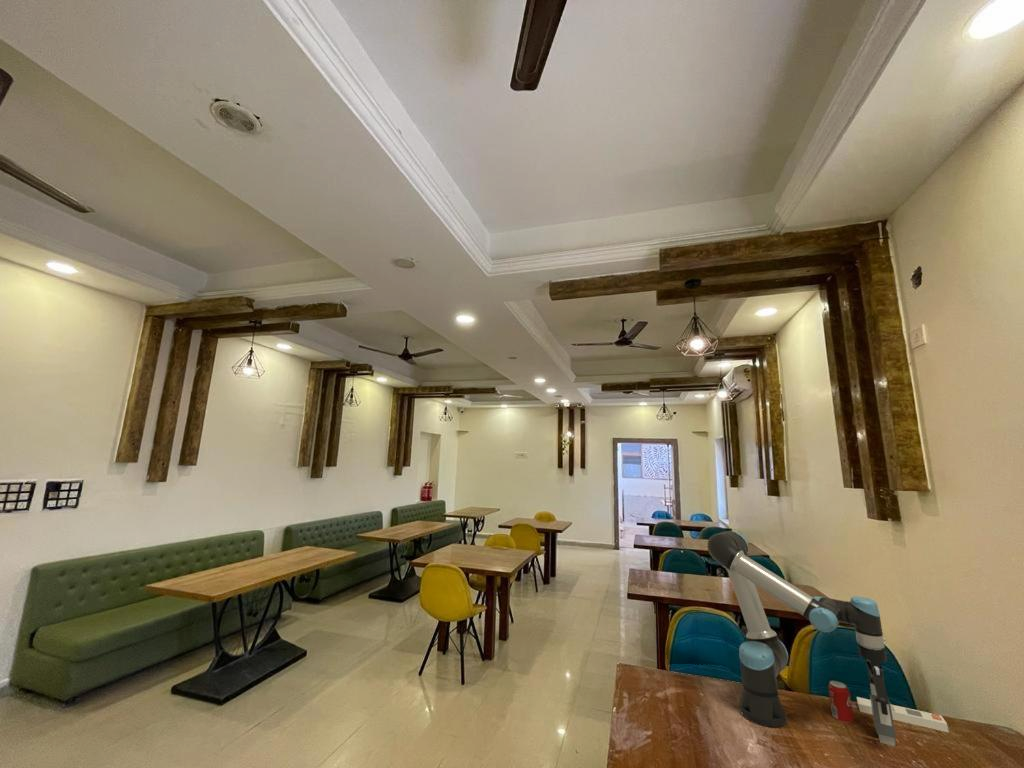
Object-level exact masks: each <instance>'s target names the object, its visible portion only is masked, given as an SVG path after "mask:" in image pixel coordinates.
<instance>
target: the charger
mask: <svg viewBox="0 0 1024 768" xmlns="http://www.w3.org/2000/svg"><path fill="white" fill-rule="evenodd" d="M869 698H870V699H869V700H871V706H872V713H873V715H872V717H873V718H872V719H873V724H874V728H875V732H876V734H877V735H878V740H879V743H881V744H886V745H889V746H893V747H896V741H895V739H897V736H896V730H895V729H896V728H895V725H894V719H893V717H892V711H891V705H892V704H891V702H890V701H889V699H888V701H889V704H888V705H889V712H890V718H891V724H892V726H889V725H885V724H881V721H880V715H879V709H878V703H877V702H876V701H875V699H878V698H877V696H876V695H872V693H869ZM881 699H884V698H881ZM890 704H891V705H890Z"/></svg>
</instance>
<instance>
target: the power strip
mask: <svg viewBox="0 0 1024 768" xmlns="http://www.w3.org/2000/svg"><path fill="white" fill-rule="evenodd" d="M856 702H857V705H854V704H851V706H852V708H854V709H855V708H856V709H859V712H861V713H864V714H869V715H872V716H873V713H872V706H871V700H870V699H867V698H864V697H860V696H856ZM890 705H891V711H892V717H893V721H894V720H895V721H898V722H902V723H907V724H911V725H916V726H919V727H924V728H929V729H932V730H937V731H940V732H941V731H942V732H945V733H949V732H950V731H949V727H948V723H947V721H946V720H945V719H944V717H943V715H940V714H936V713H930V712H927V711H922V710H918V709H912V708H909V707H905V706H900V705H894V704H892V703H890Z"/></svg>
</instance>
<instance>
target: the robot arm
mask: <svg viewBox="0 0 1024 768" xmlns="http://www.w3.org/2000/svg"><path fill="white" fill-rule="evenodd" d="M706 545H707V550H708V553H709V555H710V557H711V558H712V559H713V560H715V562H717V563H718V564H720V565H721V567H723V568H724V569H726V570H727V573H728V576H729V578H730V582H731V585H732V587H733V591H734V594H735V597H736V599H737V602H738V605H739V608H740V611H741V614H742V617H743V620H744V623H745V626H746V628H747V633H746V634H745V637H746V638H745V639H746V641H744V642H742V643H741V644H740V645H739V646H738V647H739V649H738V651H739V652H738V658H739V662H740V663H739V664H740V672H741V682H742V691H741V696H740V699H739V711H740V710H741V712H742V713H743V715H744V716H746V717H747V718H748V719H749V721H750V720H751V721H750V722H752V721H753V722H752V723H754V722H755V724H757V723H758V724H757V725H760V726H763V725H765V726H764V727H768V726H772V727H771V728H780V727H784V726H786V724H787V721H788V720H787V713H786V711H785V709H784V706H783V704H782V702H781V699H780V697H779V690H778V681H777V677H778V676H779V675H780V673H781V672H783V671H784V669H785V668H786V667H787V664H788V662H789V653H788V651H787V650H788V649H787V648H786V646H785V644H784V643H783V642H782V641H781V640H780V638H779V636H778V634H777V632H776V631H775V630H773V629H772V628H771V626H770V623H769V620H768V617H767V615H766V612H765V609H764V607H763V604H762V601H761V598H760V594H759V592H758V589H757V587H759V588H761V590H763V591H765V592H766V593H768V594H769V595H771V596H772V597H774V598H775V599H777V600H779V601H780V602H782V603H783V604H785V605H786V606H787V607H789V608H791V609H792V610H794V611H795V612H797V613H798V614H800V615H802V616H803V617H804V618H806V619H807V620H809V622H810V624H811V625H812V626H813V628H814V629H816V630H817V631H819V632H821V633H831V632H833V631H835V629H837V627H838V626H839V624H840V623H842V624H848V625H851V626H852V625H853V626H854V627H855V629H854V630H855V637H856V638H855V639H856V642H857V643H858V644H857V650H858V655H859V656H860V657H861V658H862V659H865V660H866V661H865V663H866V664H865V665H866V668H867V676H868V681H869V682H870V683H869V686H870V692H871V695H876V696H877V698H878V699H875V701H876V702H877V703H878V709H879V715H880V721H881V724H885V725H889V726H892V724H891V718H890V712H889V705H888V704H889V702H890V701H888V700H889V698H888V693H887V688H886V683H885V677H884V669H883V667H882V664H881V663H885V662H887V661H888V657H887V651H886V649H885V642H886V640H887V639H886V638H885V637H884V633H883V628H882V621H881V614H880V611H879V606H878V603H877V602H876V600H874V599H871V598H869V597H865V596H851V597H850V601H846V600H840V599H836V598H831V597H826V596H818V595H817V596H816V595H815V596H813V597H812V596H811V595H810V594H808V593H806V592H805V591H803V590H802V589H800V588H798V587H797V586H795V585H793V584H792V583H790V582H789V581H787V580H786V579H784V578H782V577H781V576H779V575H778V574H776V573H774V572H773V571H771V570H769V569H768V568H766V567H765V566H763V565H761V564H760V563H759V562H757V561H755V560H754V559H752V558H750V557H749V554H748V553H749V552H748V551H749V544H748V541H747V540H746V538H745V537H744V536H743V535H741V533H739V532H737V531H735V530H726V531H725V530H724V531H722V532H719V533H714V534H713V535H711V536H710V537H709V539H708V541H707V544H706ZM756 586H757V587H756ZM881 698H884V699H881ZM741 712H740V713H741ZM743 715H742V716H743ZM744 716H743V717H744ZM746 717H745V718H746ZM747 718H746V719H747ZM748 719H747V720H748Z"/></svg>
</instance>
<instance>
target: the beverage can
mask: <svg viewBox="0 0 1024 768" xmlns="http://www.w3.org/2000/svg"><path fill="white" fill-rule="evenodd" d="M827 689H828V695H829V696H828V697H829V703H830V710H831V715H832V717H833V718H834V719H835V720H837V721H840V722H842V723H848V724H849V723H854V715H853V714H854V713H853V707H852V706H851V705H852V701H851V694H850V690H849V688H848V687H847V685H846V684H845V683H843V682H841V681H839V680H838V681H837V680H830V681H829V684H828V685H827Z"/></svg>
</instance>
